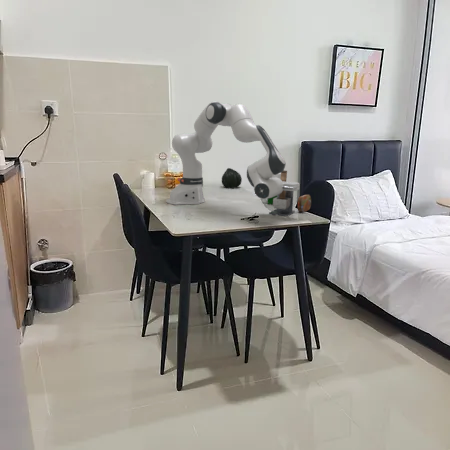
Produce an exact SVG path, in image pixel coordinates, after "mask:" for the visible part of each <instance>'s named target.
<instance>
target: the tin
mask: <svg viewBox="0 0 450 450" xmlns="http://www.w3.org/2000/svg"><path fill="white" fill-rule="evenodd" d="M296 205H297V212H299V213H305V212H308V211H309V210H310V209H311V206H312V197H311V195H310V194H304V195H301V196H299V197H298V199H297V201H296Z"/></svg>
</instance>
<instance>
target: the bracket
mask: <svg viewBox="0 0 450 450" xmlns="http://www.w3.org/2000/svg"><path fill="white" fill-rule="evenodd" d="M294 192H295V191H286V193H285V199H279V195H278V197H276V198H274V199H273V204H272V207H273V208H274V210H272V211H269V212H268V214H269V215H274V216H283V217H289V216H291V215H292V214H294V213H296V211H295V210H293V208H294V207H293V205H294Z"/></svg>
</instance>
